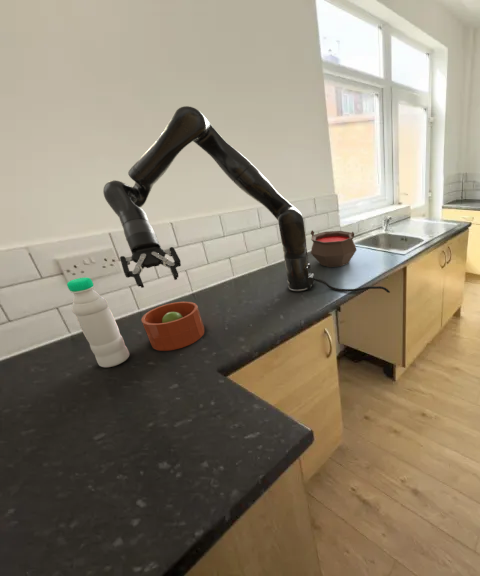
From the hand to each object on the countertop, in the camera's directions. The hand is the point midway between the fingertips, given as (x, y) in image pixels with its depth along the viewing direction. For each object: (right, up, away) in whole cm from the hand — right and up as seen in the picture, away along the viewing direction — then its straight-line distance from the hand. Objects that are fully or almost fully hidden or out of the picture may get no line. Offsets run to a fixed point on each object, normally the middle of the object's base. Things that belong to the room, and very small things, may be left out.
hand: (159, 282), depth 95 cm
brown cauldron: (+42, +11, +67) cm, 80 cm away
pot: (+2, -17, +6) cm, 18 cm away
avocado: (+2, -17, +6) cm, 18 cm away
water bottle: (-9, -23, -5) cm, 25 cm away
